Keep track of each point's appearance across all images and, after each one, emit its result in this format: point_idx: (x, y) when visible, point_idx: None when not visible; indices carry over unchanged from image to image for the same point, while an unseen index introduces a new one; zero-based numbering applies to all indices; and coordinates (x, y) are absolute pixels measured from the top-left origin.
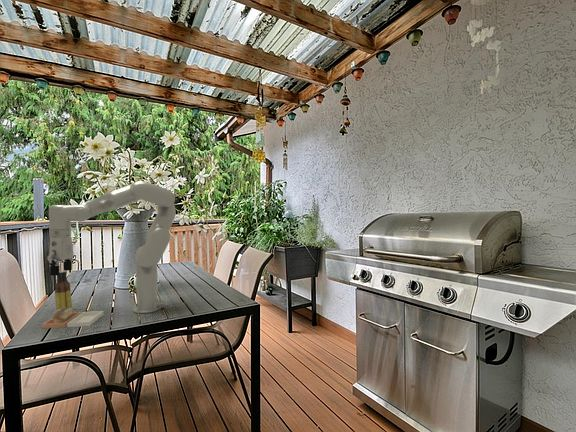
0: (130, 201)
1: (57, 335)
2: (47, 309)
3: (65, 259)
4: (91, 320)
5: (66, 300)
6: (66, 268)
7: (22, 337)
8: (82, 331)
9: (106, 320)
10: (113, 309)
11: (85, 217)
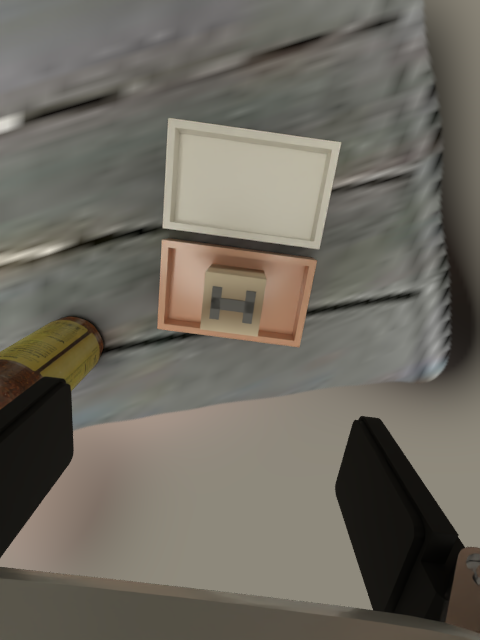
0: None
1: (378, 258)
2: None
3: (303, 603)
4: (315, 139)
5: (65, 347)
6: (55, 446)
7: (348, 373)
8: (371, 166)
9: (248, 89)
10: (66, 104)
11: None
